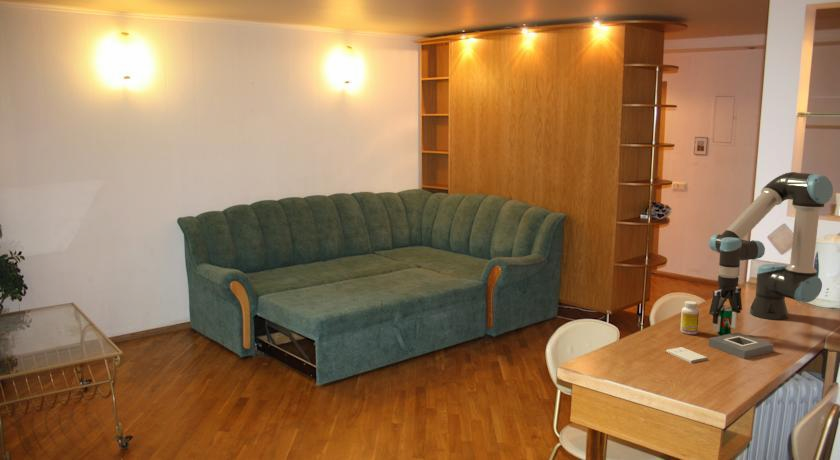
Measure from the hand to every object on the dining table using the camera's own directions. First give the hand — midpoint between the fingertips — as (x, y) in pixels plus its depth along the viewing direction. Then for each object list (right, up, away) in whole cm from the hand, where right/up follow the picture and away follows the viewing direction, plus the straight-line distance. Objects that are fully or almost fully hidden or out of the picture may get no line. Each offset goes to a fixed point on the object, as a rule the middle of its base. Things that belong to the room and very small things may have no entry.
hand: (724, 329), depth 269 cm
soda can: (0, -3, 0) cm, 3 cm away
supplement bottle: (-13, -2, +4) cm, 14 cm away
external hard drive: (-25, -7, -22) cm, 34 cm away
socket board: (-1, -5, -15) cm, 16 cm away
